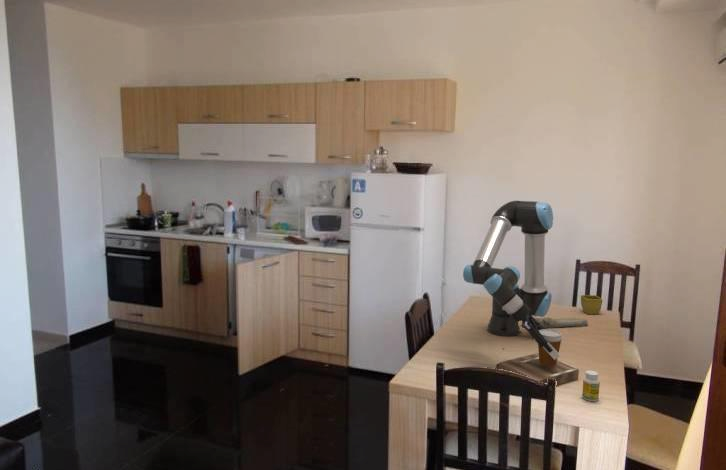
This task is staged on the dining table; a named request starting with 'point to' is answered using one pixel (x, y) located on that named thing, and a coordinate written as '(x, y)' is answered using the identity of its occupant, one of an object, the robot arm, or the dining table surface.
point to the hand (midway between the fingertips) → (557, 353)
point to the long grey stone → (561, 322)
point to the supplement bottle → (591, 386)
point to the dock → (540, 369)
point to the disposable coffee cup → (555, 342)
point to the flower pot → (591, 304)
